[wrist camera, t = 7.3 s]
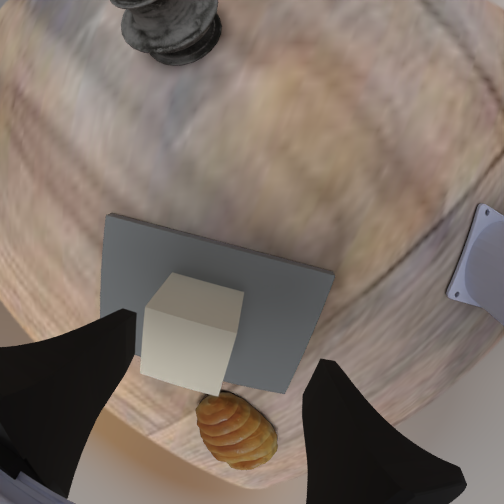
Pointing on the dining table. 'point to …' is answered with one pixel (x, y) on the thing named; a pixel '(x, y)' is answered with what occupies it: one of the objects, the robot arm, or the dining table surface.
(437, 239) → the dining table surface
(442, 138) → the dining table surface
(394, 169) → the dining table surface
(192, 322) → the block
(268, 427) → the pastry
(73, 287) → the dining table surface
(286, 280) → the board
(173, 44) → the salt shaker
